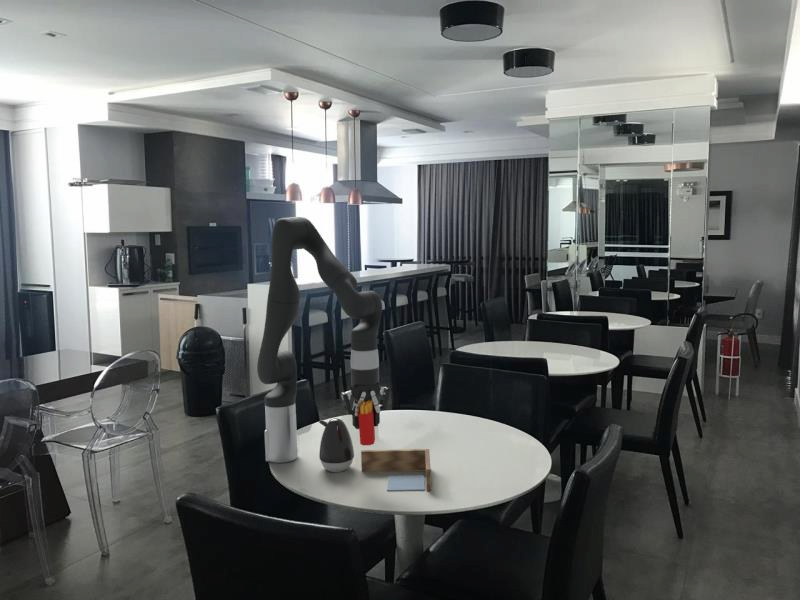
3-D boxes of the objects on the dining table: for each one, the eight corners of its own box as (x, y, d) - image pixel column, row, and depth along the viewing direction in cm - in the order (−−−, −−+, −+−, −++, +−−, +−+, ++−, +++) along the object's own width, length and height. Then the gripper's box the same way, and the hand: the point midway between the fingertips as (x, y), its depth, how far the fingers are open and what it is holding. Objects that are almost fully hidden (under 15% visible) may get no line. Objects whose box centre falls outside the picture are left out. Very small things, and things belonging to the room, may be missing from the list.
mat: (387, 491, 177) (387, 489, 177) (388, 476, 187) (388, 475, 187) (424, 490, 177) (424, 489, 176) (424, 476, 186) (424, 475, 186)
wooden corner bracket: (357, 492, 176) (356, 470, 176) (362, 470, 192) (361, 450, 192) (431, 491, 176) (430, 469, 175) (429, 468, 192) (429, 448, 191)
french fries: (362, 436, 184) (359, 395, 183) (376, 436, 184) (373, 394, 182) (358, 447, 176) (356, 403, 174) (373, 446, 176) (371, 403, 174)
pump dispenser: (329, 461, 201) (327, 412, 199) (360, 464, 197) (358, 415, 195) (312, 473, 191) (310, 422, 189) (345, 477, 187) (343, 425, 186)
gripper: (344, 371, 171) (346, 434, 173) (394, 365, 177) (396, 427, 179) (334, 365, 178) (336, 427, 180) (383, 360, 184) (385, 419, 186)
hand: (366, 426), depth 179 cm, fingers closed on french fries, 4 cm apart
